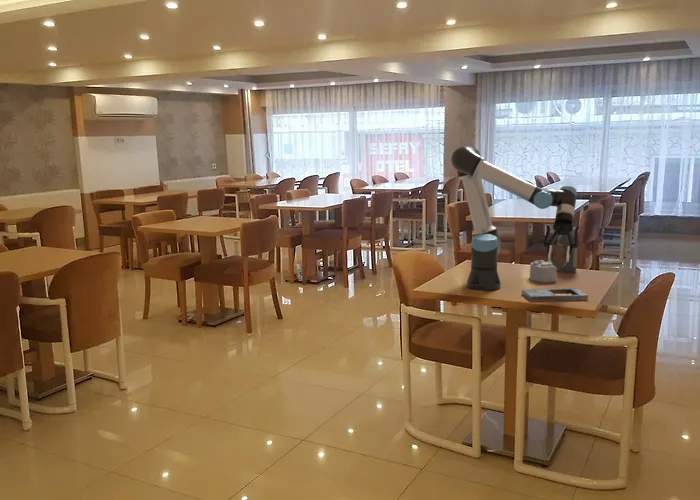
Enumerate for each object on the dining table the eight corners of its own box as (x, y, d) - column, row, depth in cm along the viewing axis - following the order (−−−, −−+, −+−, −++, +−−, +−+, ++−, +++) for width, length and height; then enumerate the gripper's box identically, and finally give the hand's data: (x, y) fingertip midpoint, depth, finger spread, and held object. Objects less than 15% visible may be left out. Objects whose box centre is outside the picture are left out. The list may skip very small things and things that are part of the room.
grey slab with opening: (530, 301, 258) (531, 296, 257) (521, 294, 270) (522, 289, 269) (587, 299, 259) (587, 295, 258) (576, 292, 270) (576, 288, 270)
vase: (568, 265, 268) (568, 245, 266) (566, 268, 262) (567, 247, 260) (551, 264, 270) (551, 244, 269) (549, 267, 264) (550, 247, 263)
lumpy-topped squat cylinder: (539, 282, 291) (540, 264, 289) (524, 276, 303) (525, 259, 301) (558, 281, 293) (559, 263, 292) (543, 275, 306) (544, 258, 304)
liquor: (574, 269, 319) (577, 211, 313) (576, 272, 310) (579, 213, 305) (555, 268, 321) (558, 210, 315) (557, 272, 312) (560, 213, 307)
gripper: (588, 222, 272) (583, 266, 261) (542, 221, 281) (535, 263, 269) (587, 211, 267) (582, 256, 255) (540, 210, 275) (533, 253, 264)
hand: (558, 259), depth 262 cm, fingers closed on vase, 7 cm apart
